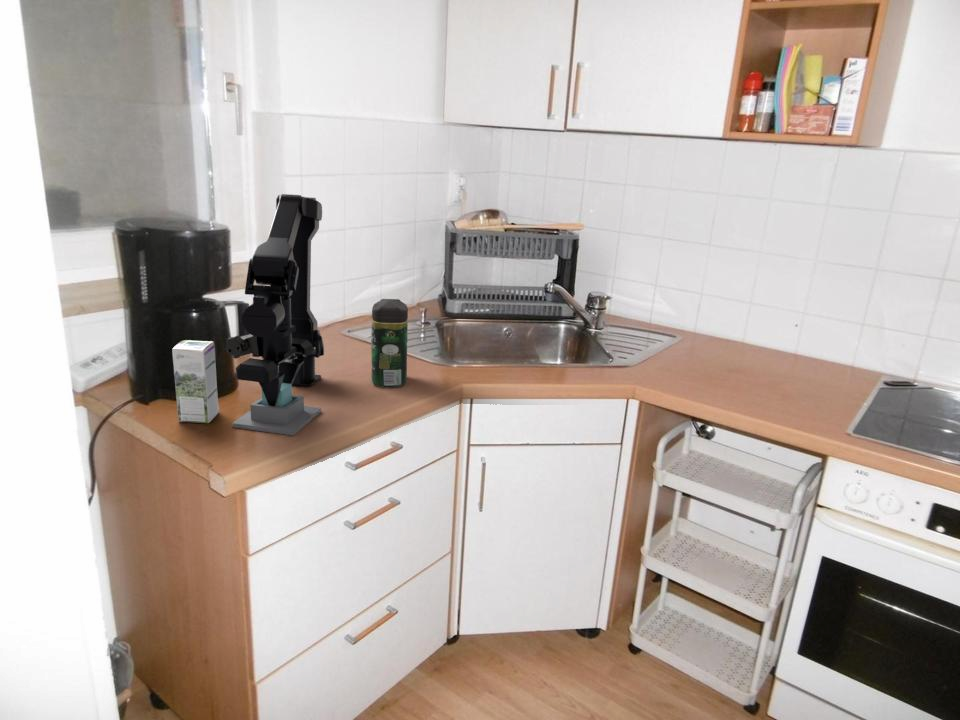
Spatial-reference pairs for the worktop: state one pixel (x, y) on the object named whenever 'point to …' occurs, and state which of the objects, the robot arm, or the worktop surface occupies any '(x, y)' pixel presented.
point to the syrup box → (195, 381)
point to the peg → (281, 396)
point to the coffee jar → (389, 343)
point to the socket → (278, 417)
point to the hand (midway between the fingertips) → (277, 401)
